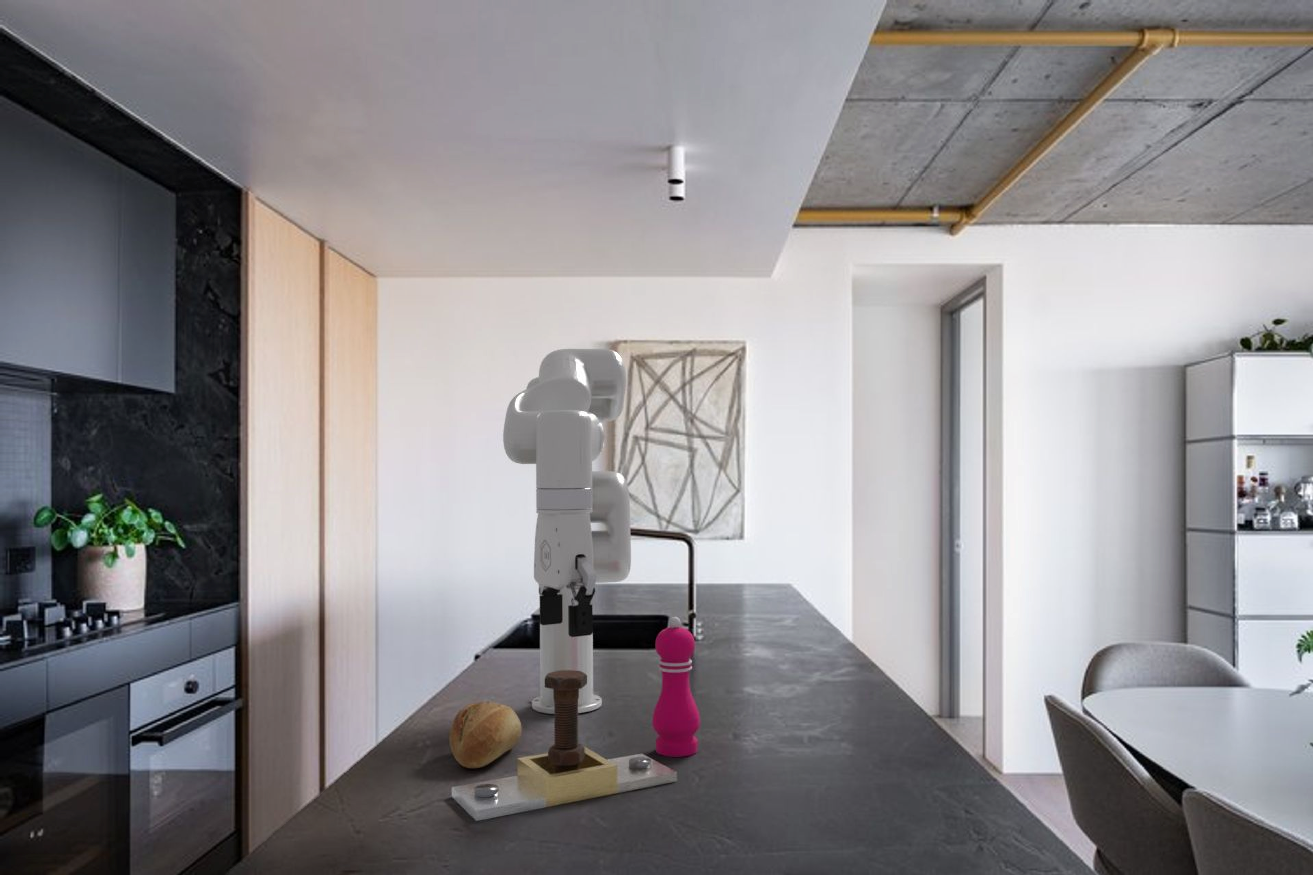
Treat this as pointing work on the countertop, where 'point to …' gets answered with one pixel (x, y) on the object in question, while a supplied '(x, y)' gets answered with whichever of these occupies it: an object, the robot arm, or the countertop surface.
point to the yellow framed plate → (559, 784)
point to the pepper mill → (675, 694)
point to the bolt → (566, 719)
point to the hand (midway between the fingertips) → (565, 629)
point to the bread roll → (483, 733)
